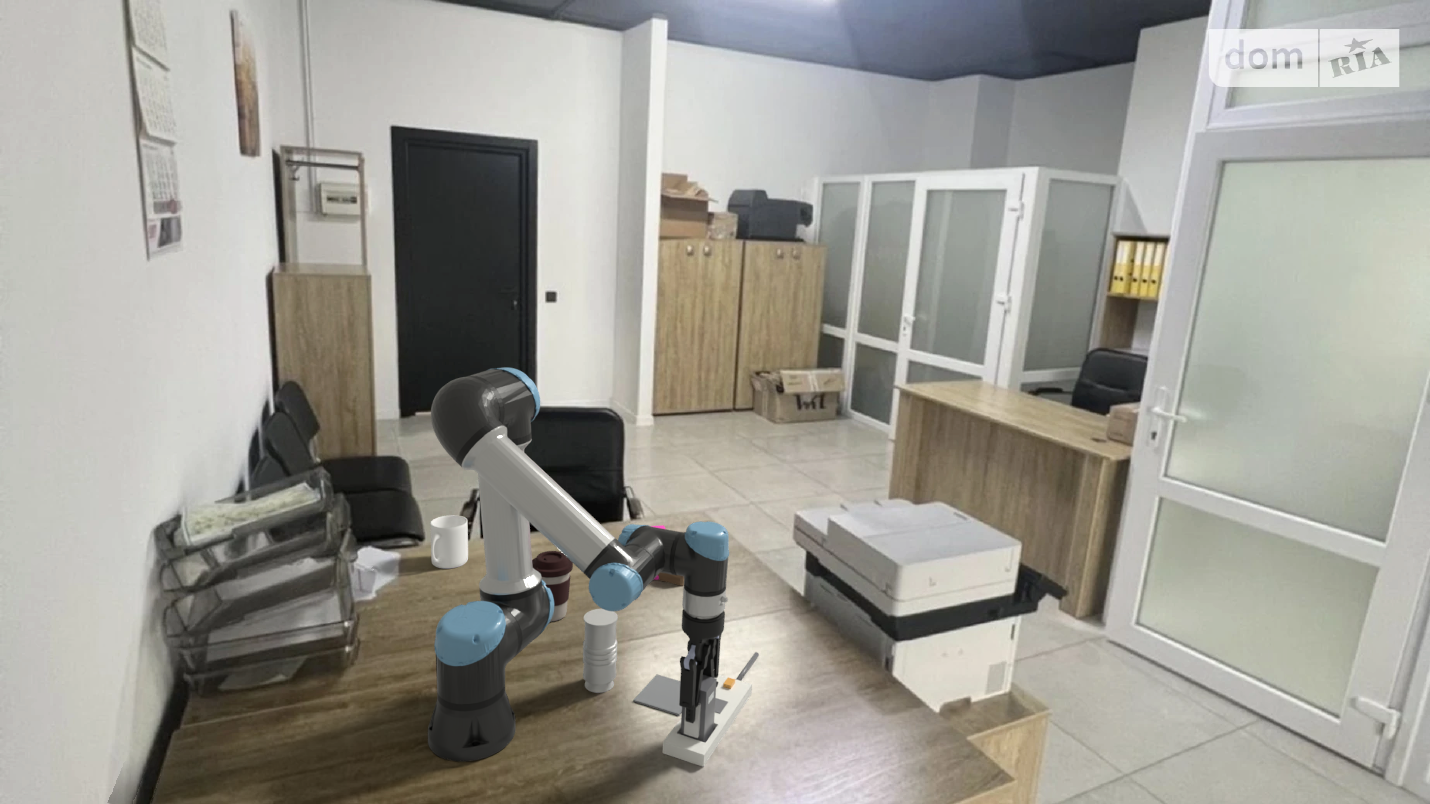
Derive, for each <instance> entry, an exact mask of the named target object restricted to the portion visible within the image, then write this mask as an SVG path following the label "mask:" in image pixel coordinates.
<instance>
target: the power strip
mask: <svg viewBox="0 0 1430 804" xmlns="http://www.w3.org/2000/svg"><path fill="white" fill-rule="evenodd" d="M759 656H760V654H759V652H757V651H755V652H754V653H753V655H752V656H751V657H750V659H749V660H748V661H747V663H746V665H745V666H744V667H743V668H742V670H741V671H740V673H739V674H738V675H737V677H736V678H733V677H729V676H726V675H723V674H720V673H718V677H717V678H716V679H717V682H718V686H717V687H716V699H715V716H714V731H713V733H712V734H711V736H710V737H709V738H708V740H707V741H706V743H705V742H702V741H699V740H696V739H693V738H690V737H687V736H684V735H681V718H680V719H679V720H678V721H677V723H676V724H675V725H674V727H672V729H671V731H670V732H669V733H668V735H667V736H666V737H665V738H664V739H663V741H662V754H664V755H666V756H667V755H668V756H670V757H672V758H674V759H675V758H676V759H679V760H682V761H685V762H687V763H691V764H693V765H697V766H699V767H701V768H702V767H703V768H704V767H705V765H706V764H707V762H708V761H709V759H710V758H711V756H712V755H713V753H714V752H715V751H716V749H717V748H718V746H719V744H721V741H722V740H723V738H724V737H725V736H726V734H727V732H728V731H729V729H730V728H731V727H732V725H733V723H734V722H735V720H736V719H737V717H738V716H739V714H740V713H741V711H742V710H741V709H743V708H744V706H745V705H746V704H747V701H748V700H749V698H750V697H751V696H752V691H753V683H750V682H747V681H743V680H742V679H743V678H744V677H745V675H746V674H747V672H748V671H749V670H750V668H751V667H752V665H754V662H756V660H757V659H758V657H759ZM739 712H740V713H739ZM737 715H738V716H737Z"/></svg>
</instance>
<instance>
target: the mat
mask: <svg viewBox="0 0 1430 804" xmlns="http://www.w3.org/2000/svg"><path fill="white" fill-rule="evenodd" d="M633 702H634V703H637V704H640V705H643V706H646V707H650V708H653V709H656V710H659V711H663V712H666V713H669V714H672V715H676V716H679V717H681V715H682V706H680V705H679V702H680V680H677V679H675V678H671V677H667V676H665V675H662V674H658V673H657V674H655V676H654V677H653V678H652V679H651V680H650V681H649V682H648V683H647V684H646V686H644V688H643V689H642V690H640V692H639V693H638V694H637V695H636V696H635V698H634V699H633Z"/></svg>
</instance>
